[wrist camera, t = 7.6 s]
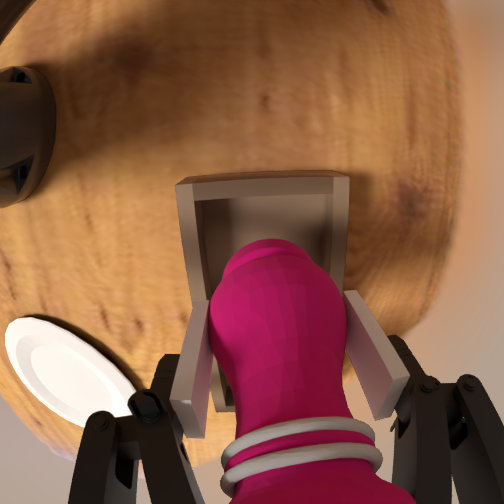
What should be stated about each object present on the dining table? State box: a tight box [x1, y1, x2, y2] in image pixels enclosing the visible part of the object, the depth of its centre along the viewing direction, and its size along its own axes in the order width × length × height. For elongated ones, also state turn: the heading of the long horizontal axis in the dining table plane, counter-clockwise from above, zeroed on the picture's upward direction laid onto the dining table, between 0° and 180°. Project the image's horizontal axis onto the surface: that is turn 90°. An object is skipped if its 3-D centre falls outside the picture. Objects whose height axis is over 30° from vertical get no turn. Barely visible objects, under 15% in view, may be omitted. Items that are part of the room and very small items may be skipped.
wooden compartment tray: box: [175, 170, 350, 412], centre depth 25 cm, size 24×12×4 cm, turn 3°
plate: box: [5, 317, 137, 428], centre depth 32 cm, size 25×25×2 cm
